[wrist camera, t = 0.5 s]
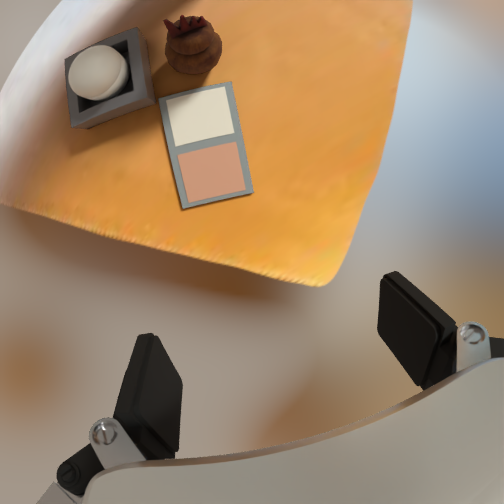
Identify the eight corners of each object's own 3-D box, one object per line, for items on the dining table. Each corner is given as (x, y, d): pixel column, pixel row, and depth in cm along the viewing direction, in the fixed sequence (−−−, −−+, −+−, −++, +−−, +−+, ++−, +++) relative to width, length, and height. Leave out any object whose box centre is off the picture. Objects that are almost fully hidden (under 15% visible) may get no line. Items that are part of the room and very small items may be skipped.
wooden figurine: (171, 80, 30) (144, 42, 16) (173, 45, 28) (151, -5, 14) (220, 77, 31) (223, 35, 17) (221, 42, 29) (225, -11, 15)
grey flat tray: (159, 99, 31) (158, 98, 30) (231, 82, 31) (231, 81, 31) (183, 207, 37) (182, 208, 36) (253, 191, 37) (253, 192, 37)
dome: (81, 66, 24) (57, 54, 18) (127, 47, 24) (109, 28, 18) (86, 109, 27) (60, 103, 20) (133, 90, 27) (114, 78, 20)
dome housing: (79, 66, 26) (64, 59, 22) (146, 39, 27) (137, 27, 22) (87, 129, 31) (71, 127, 26) (156, 103, 31) (147, 97, 26)
